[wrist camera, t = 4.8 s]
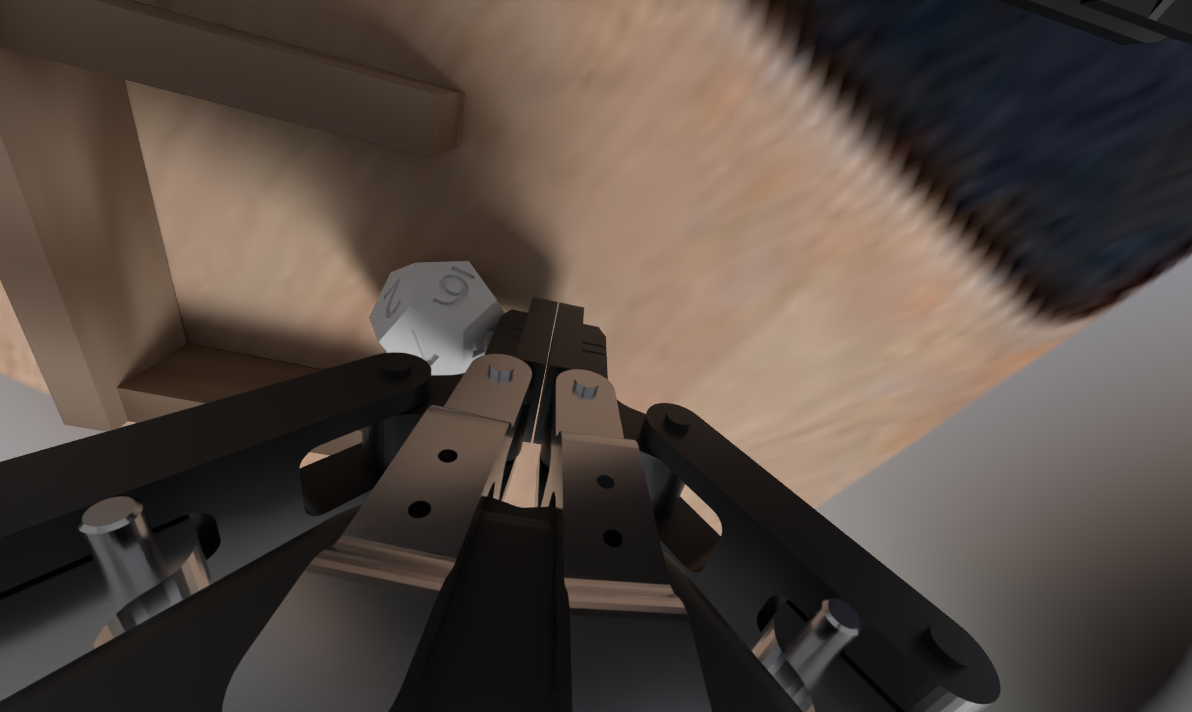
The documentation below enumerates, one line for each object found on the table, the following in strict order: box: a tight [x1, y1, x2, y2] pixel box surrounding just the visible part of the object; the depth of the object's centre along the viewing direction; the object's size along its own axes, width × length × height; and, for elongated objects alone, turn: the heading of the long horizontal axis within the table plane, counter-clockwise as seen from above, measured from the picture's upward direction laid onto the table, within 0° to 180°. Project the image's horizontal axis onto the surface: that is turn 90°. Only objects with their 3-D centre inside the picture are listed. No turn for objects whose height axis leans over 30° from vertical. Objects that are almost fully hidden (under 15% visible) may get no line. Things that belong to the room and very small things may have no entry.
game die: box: [369, 261, 505, 375], centre depth 13 cm, size 4×4×3 cm
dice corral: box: [0, 0, 465, 455], centre depth 12 cm, size 10×9×3 cm
